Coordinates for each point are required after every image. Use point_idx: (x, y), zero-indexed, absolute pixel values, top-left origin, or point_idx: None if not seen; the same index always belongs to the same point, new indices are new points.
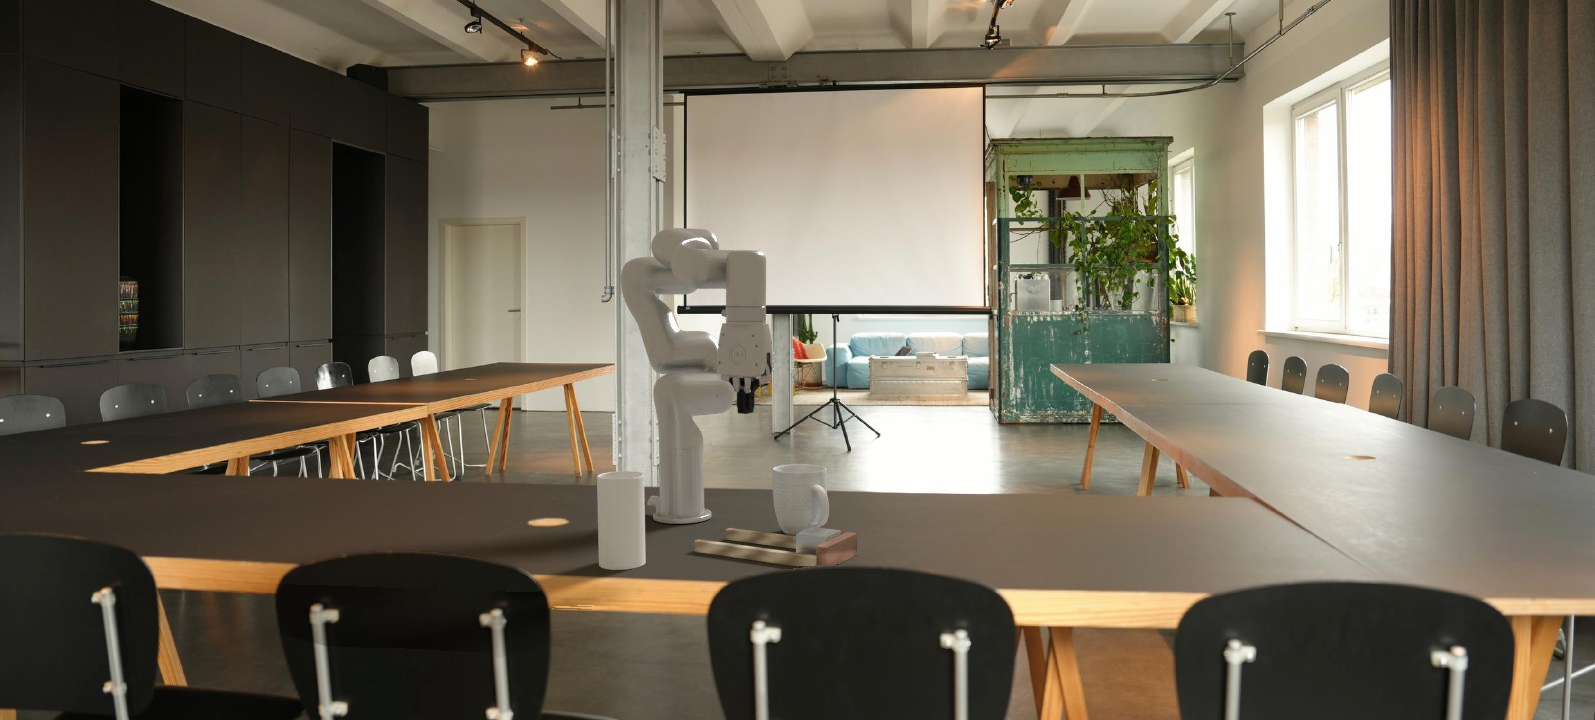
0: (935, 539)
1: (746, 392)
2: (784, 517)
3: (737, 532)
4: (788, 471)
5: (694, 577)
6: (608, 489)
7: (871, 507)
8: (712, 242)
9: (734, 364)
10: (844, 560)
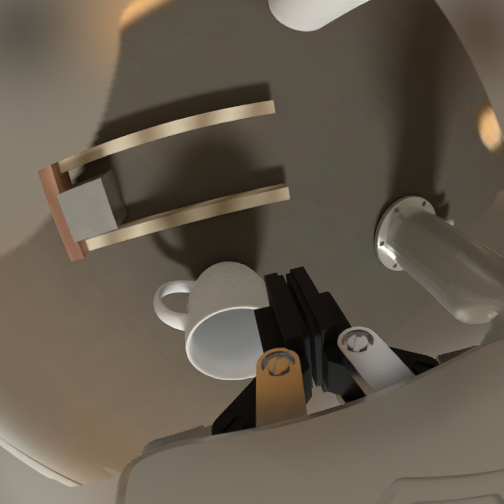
0: (87, 350)
1: (279, 350)
2: (226, 264)
3: (264, 191)
4: None
5: (162, 14)
6: None
7: None
8: None
9: (439, 470)
10: None
